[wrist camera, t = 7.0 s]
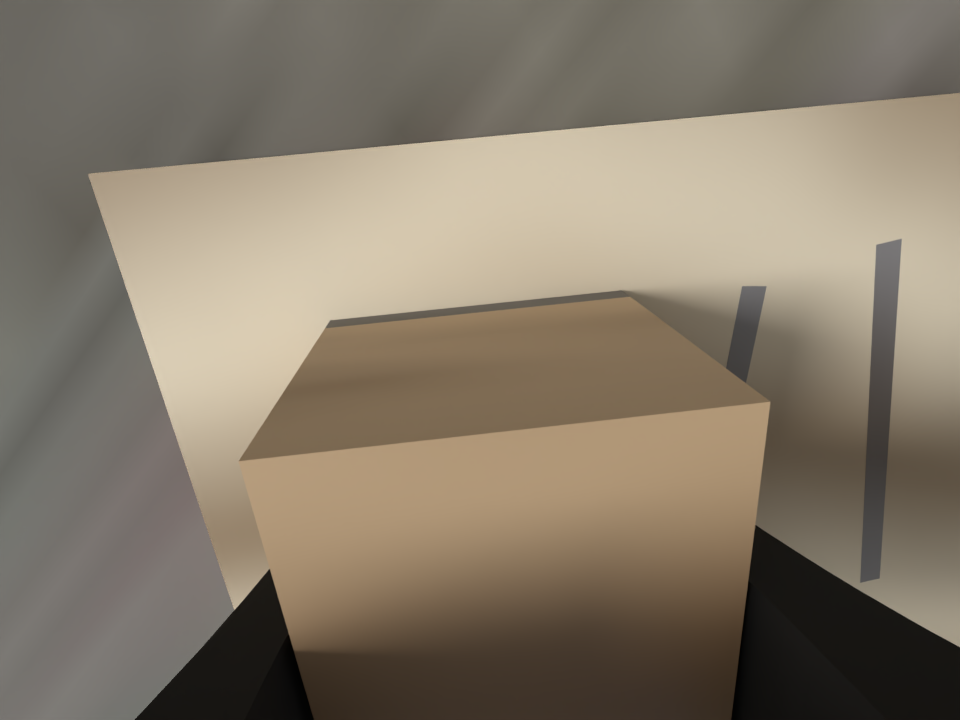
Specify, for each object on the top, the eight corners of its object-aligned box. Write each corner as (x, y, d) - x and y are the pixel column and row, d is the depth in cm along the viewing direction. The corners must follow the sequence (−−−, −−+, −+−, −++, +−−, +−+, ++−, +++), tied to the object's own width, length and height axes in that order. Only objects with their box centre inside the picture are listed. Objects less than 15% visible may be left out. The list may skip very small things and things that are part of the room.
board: (1026, 612, 13) (1080, 654, 12) (298, 706, 13) (284, 759, 12) (1231, 69, 9) (1345, 56, 8) (135, 170, 8) (87, 174, 7)
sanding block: (618, 626, 11) (711, 875, 7) (396, 655, 11) (373, 923, 7) (621, 290, 8) (770, 402, 5) (330, 320, 8) (238, 460, 4)
